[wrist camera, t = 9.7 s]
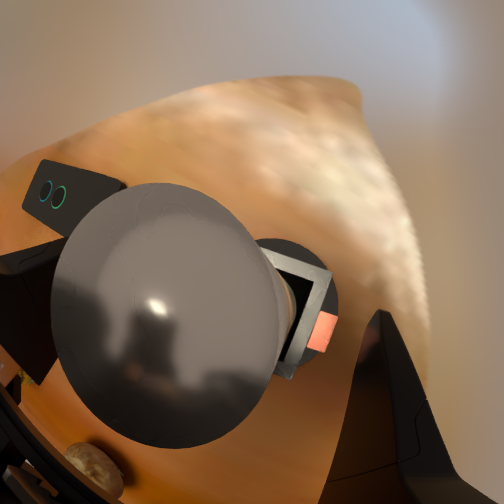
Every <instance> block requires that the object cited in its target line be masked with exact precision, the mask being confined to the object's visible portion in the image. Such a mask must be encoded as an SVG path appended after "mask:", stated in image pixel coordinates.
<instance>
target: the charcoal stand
mask: <svg viewBox="0 0 504 504" xmlns="http://www.w3.org/2000/svg"><path fill="white" fill-rule="evenodd" d="M255 242H256V243H257V244H258V246H259V247H260V248H261V250H262V251H263V253H264V254H265V255H266V257H267V258H268V259H269V261H270V262H271V263H272V265H273V266H274V267H275V269H276V270H277V271H278V273H279V274H280V275H281V277H282V278H283V279H284V280H285V281H286V282H287V283H288V284H289V286H290V287H291V289H292V291H293V293H294V296H295V299H296V316H295V319H294V322H293V324H292V327H291V328H290V330H289V333H288V335H287V338H286V341H285V343H284V346H283V348H282V351H281V353H280V356H279V358H278V361H277V363H276V366H275V368H274V371H273V374H276V375H279V376H281V377H284V378H287V379H290V380H291V379H292V377H293V375H294V373H295V370H296V368H297V367H299V366H301V365H303V364H304V363H306V362H307V361H309V360H310V359H312V358H313V357H314V356H315V355H316V354H318V353H319V352H323V353H324V352H325V350H326V348H327V345H328V343H329V340H330V338H331V335H332V333H333V330H334V327H335V325H336V322H337V319H338V317H337V313H338V298H337V292H336V287H335V284H334V281H333V279H332V274H333V272H330V271H328V269H327V268H326V267H325V265H324V264H323V263H322V261H321V260H320V259H319V258H318V257H317V256H316V255H315V254H313V253H312V252H311V251H309V250H308V249H306V248H305V247H303V246H301V245H299V244H296V243H294V242H291V241H287V240H283V239H259V240H255Z"/></svg>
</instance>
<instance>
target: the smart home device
mask: <svg viewBox="0 0 504 504" xmlns="http://www.w3.org/2000/svg"><path fill="white" fill-rule="evenodd" d="M126 188H127V187H126V185H125V184H123V183H122V182H120V181H119V180H117V179H115V178H111V177H108V176H106V175H103V174H99V173H96V172H92V171H88V170H85V169H79V168H76V167H72V166H68V165H65V164H61V163H57V162H53V161H49V160H46V159H43V160H42V161H41V162H40V164H39V166H38V168H37V170H36V173H35V175H34V177H33V179H32V182H31V184H30V186H29V189H28V191H27V194H26V196H25V199H24V201H23V204H22V209H23V210H25V211H26V212H27V213H29V214H30V215H32V216H33V217H35V218H36V219H38V220H39V221H41V222H42V223H44V224H45V225H47V226H48V227H50V228H51V229H53V230H54V231H56V232H57V233H59V234H60V235H62V236H64V237H67V236H71V234H72V232H73V231H74V229H75V228H76V227H77V225H78V224H79V223H80V221H81V220H82V219H83V218H84V217H85V216H86V215H87V214H88V213H89V212H90V211H91V210H92V209H93V208H94V207H95V206H97V205H98V204H99V203H100V202H102V201H103V200H105V199H106V198H108V197H110V196H111V195H113V194H115V193H117V192H119V191H122V190H124V189H126Z"/></svg>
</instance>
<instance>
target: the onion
mask: <svg viewBox="0 0 504 504" xmlns="http://www.w3.org/2000/svg"><path fill="white" fill-rule="evenodd" d="M64 457H65V458H66V459H67V460H68V461H69V462H70V463H72V464H73V465H74V466H75V467H76V468H77V469H78V470H80V471H81V472H82V473H83V474H84V475H86V476H87V477H88V478H89V479H90V480H92V481H93V482H94V483H96V484H97V485H98V486H99V487H101V488H102V489H104V490H105V491H106V492H108V493H109V494H110V495H112V496H113V497H115V498H116V499H118V498H120V497H121V495H122V493H123V489H124V484H123V480H122V477H121V474H122V473H121V472H120V470H121V469H119V468H118V467H117V466H116V464H115V462H114V461H113V460H112V459H111V458H110V457H109V456H108V455H107V454H106V453H104V452H103V451H101V450H100V449H98V448H97V447H95V446H93V445H91V444H88V443H85V442H79V443H75V444H73V445H71V446H70V447H69V448H67V450H66V452H65V454H64ZM120 473H121V474H120ZM122 475H123V474H122ZM123 476H124V475H123ZM124 477H125V476H124Z"/></svg>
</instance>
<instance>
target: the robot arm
mask: <svg viewBox="0 0 504 504" xmlns="http://www.w3.org/2000/svg"><path fill="white" fill-rule="evenodd" d="M69 237H70V236H67V237H64V238H61V239H57V240H54V241H53V242H52V241H51V242H48V243H44V244H41V245H38V246H35V247H31V248H27V249H24V250H20V251H16V252H13V253H9V254H5V255H1V256H0V504H124V503H122V502H121V501H119V500H118V499H116V498H115V497H113V496H112V495H110V494H109V493H108V492H106V491H105V490H104V489H102V488H101V487H99V486H98V485H97V484H96V483H94V482H93V481H92V480H90V479H89V478H88V477H87V476H86V475H84V474H83V473H82V472H81V471H80V470H78V469H77V468H76V467H75V466H74V465H73V464H72V463H70V462H69V461H68V460H67V459H66V458H65V457H64V456H63V455H62V454H61V453H60V452H59V451H58V450H57V449H56V448H55V447H54V446H53V445H52V444H51V443H50V442H49V441H48V440H47V439H46V438H45V437H44V436H43V435H42V434H41V433H40V432H39V431H38V430H37V428H36V427H35V426H34V425H33V424H32V423H31V421H30V420H29V419H28V418H27V417H26V416H25V414H24V413H23V412H22V411H21V409H20V408H19V407H18V405H19V404H20V402H21V377H20V375H19V374H18V372H19V371H20V370H21V369H22V370H23V371H24V372H25V373H26V374H27V375H28V376H29V377H30V378H31V379H32V380H33V381H34V382H35V383H36V384H37V385H38V386H40V384H41V383H42V382H43V380H44V378H45V377H46V375H47V374H48V372H49V371H50V369H51V368H52V366H53V364H54V363H55V361H56V360H57V358H58V355H57V351H56V348H55V344H54V340H53V334H52V327H51V314H50V304H51V291H52V284H53V279H54V274H55V270H56V267H57V264H58V261H59V258H60V255H61V253H62V251H63V249H64V246H65V244H66V242H67V241H68V239H69ZM426 398H427V397H426V395H425V392H424V389H423V387H422V384H421V382H420V379H419V376H418V374H417V372H416V369H415V367H414V364H413V362H412V360H411V357H410V355H409V353H408V350H407V348H406V346H405V343H404V341H403V339H402V337H401V335H400V332H399V330H398V328H397V326H396V324H395V322H394V320H393V318H392V316H391V314H390V312H388V311H385V310H382V309H378V310H377V311H376V312H375V314H374V316H373V317H372V319H371V320H370V322H369V323H368V325H367V327H366V330H365V333H364V337H363V341H362V345H361V349H360V352H359V356H358V359H357V363H356V366H355V370H354V375H353V380H352V385H351V390H350V395H349V400H348V404H347V409H346V413H345V418H344V422H343V426H342V430H341V433H340V437H339V441H338V445H337V448H336V452H335V455H334V458H333V462H332V465H331V468H330V471H329V474H328V477H327V480H326V483H325V485H324V488H323V491H322V494H321V496H320V499H319V502H318V504H498V503H496V502H495V501H493V500H491V499H490V498H488V497H487V496H485V495H484V494H482V493H481V492H479V491H478V490H477V489H475V488H474V487H472V486H471V485H469V484H468V483H467V482H465V481H464V480H462V478H460V476H459V475H458V474H457V472H456V471H455V469H454V467H453V464H452V462H451V459H450V456H449V454H448V451H447V449H446V446H445V444H444V442H443V439H442V437H441V434H440V432H439V429H438V427H437V424H436V422H435V419H434V416H433V414H432V411H431V408H430V406H429V403H428V400H426ZM26 459H27V460H28V461H29V462H30V464H31V465H32V466H33V467H32V466H31V465H30V464H28V463H27V462H25V460H26Z"/></svg>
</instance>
